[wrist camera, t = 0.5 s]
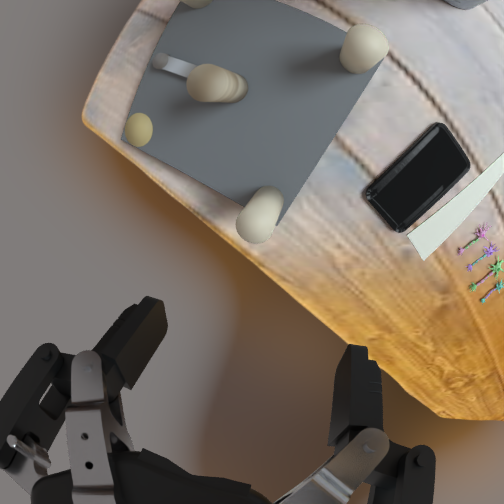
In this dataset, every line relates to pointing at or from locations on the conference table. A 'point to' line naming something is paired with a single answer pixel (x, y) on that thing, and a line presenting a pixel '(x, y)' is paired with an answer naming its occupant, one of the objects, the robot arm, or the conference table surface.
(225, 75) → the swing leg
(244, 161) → the grey square base plate
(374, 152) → the conference table surface
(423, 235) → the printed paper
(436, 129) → the phone
